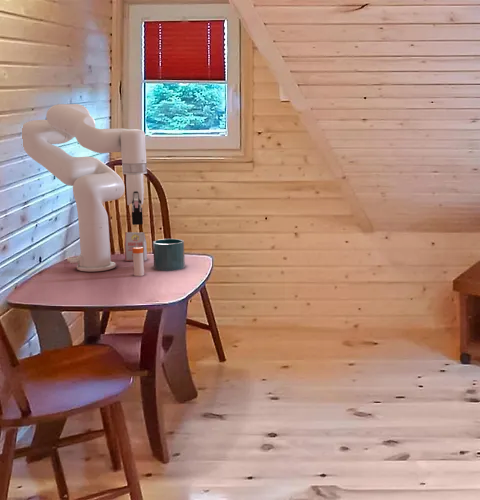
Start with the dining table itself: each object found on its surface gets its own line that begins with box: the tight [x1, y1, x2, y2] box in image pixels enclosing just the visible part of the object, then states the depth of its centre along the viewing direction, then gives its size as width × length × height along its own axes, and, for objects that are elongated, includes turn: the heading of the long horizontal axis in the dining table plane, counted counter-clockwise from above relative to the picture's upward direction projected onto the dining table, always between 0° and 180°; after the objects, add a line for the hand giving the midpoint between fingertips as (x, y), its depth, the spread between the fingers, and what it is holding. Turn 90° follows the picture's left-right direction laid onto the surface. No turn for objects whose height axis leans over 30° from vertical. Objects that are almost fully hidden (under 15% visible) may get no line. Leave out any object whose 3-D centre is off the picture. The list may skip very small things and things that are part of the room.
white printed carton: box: [124, 231, 148, 262], centre depth 271 cm, size 4×7×10 cm, turn 90°
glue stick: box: [132, 247, 145, 277], centre depth 249 cm, size 3×3×9 cm
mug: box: [152, 238, 186, 272], centre depth 262 cm, size 14×10×9 cm
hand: (137, 222), depth 246 cm, fingers open, 9 cm apart
